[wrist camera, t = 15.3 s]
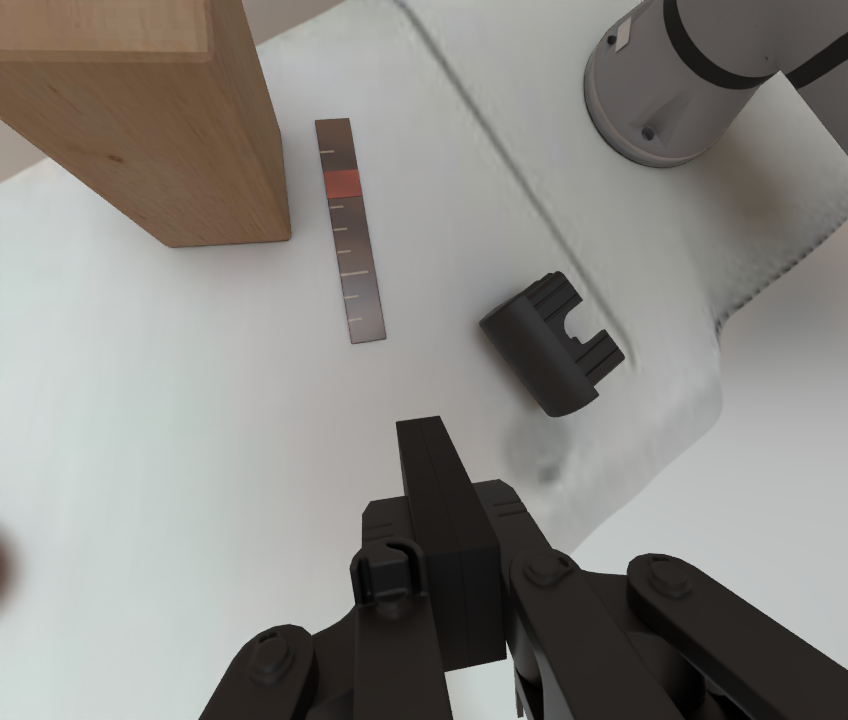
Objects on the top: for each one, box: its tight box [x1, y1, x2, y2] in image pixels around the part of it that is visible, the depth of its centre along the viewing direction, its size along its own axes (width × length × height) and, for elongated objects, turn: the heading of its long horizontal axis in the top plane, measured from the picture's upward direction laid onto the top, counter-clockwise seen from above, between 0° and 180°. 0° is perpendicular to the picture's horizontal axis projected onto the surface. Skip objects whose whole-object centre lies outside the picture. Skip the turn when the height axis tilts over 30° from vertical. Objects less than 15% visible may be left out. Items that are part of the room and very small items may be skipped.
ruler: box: [315, 118, 386, 344], centre depth 36 cm, size 20×3×1 cm, turn 10°
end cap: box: [479, 271, 625, 417], centre depth 35 cm, size 10×7×7 cm
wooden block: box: [0, 0, 291, 247], centre depth 25 cm, size 10×10×20 cm
